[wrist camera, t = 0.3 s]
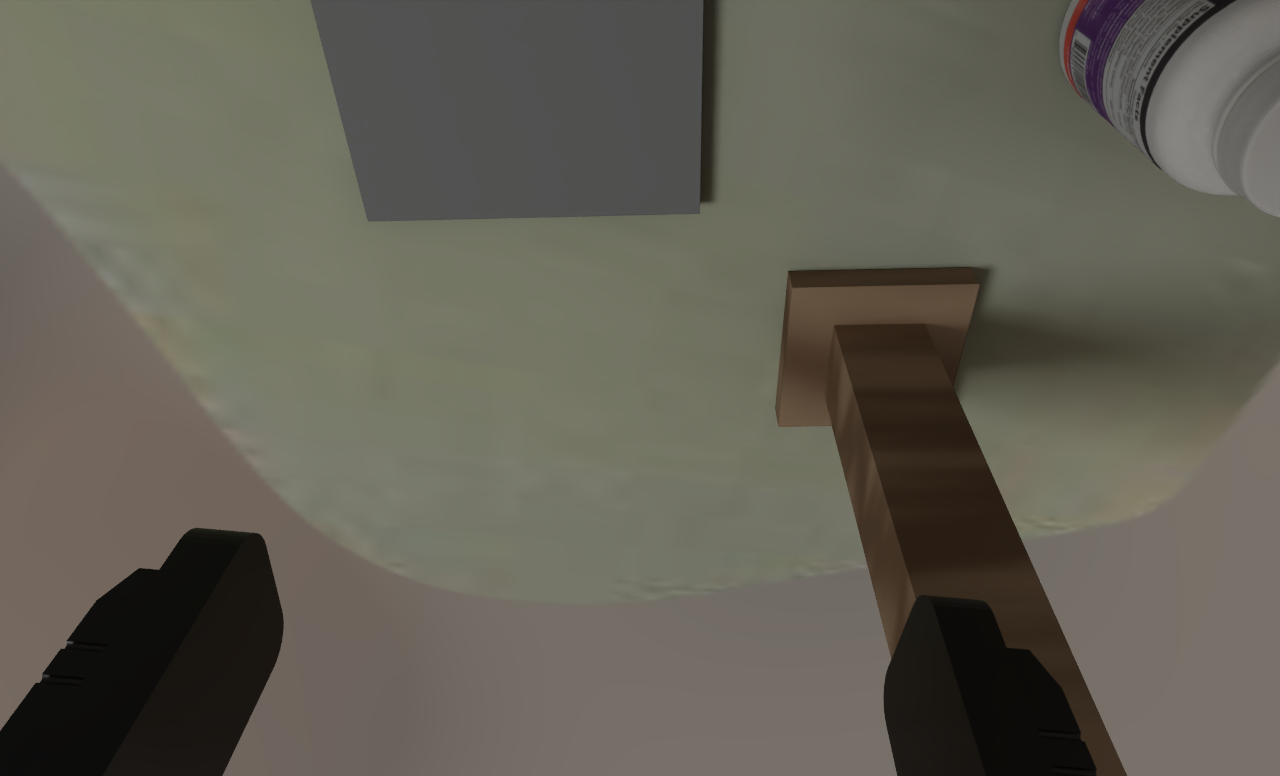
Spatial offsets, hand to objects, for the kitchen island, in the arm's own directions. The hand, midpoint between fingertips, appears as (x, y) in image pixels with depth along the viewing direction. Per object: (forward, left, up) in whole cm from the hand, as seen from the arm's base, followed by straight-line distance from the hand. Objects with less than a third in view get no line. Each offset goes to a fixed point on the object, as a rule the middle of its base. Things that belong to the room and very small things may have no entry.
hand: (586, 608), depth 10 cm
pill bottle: (-9, +14, -22) cm, 27 cm away
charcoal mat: (+1, -3, -22) cm, 22 cm away
